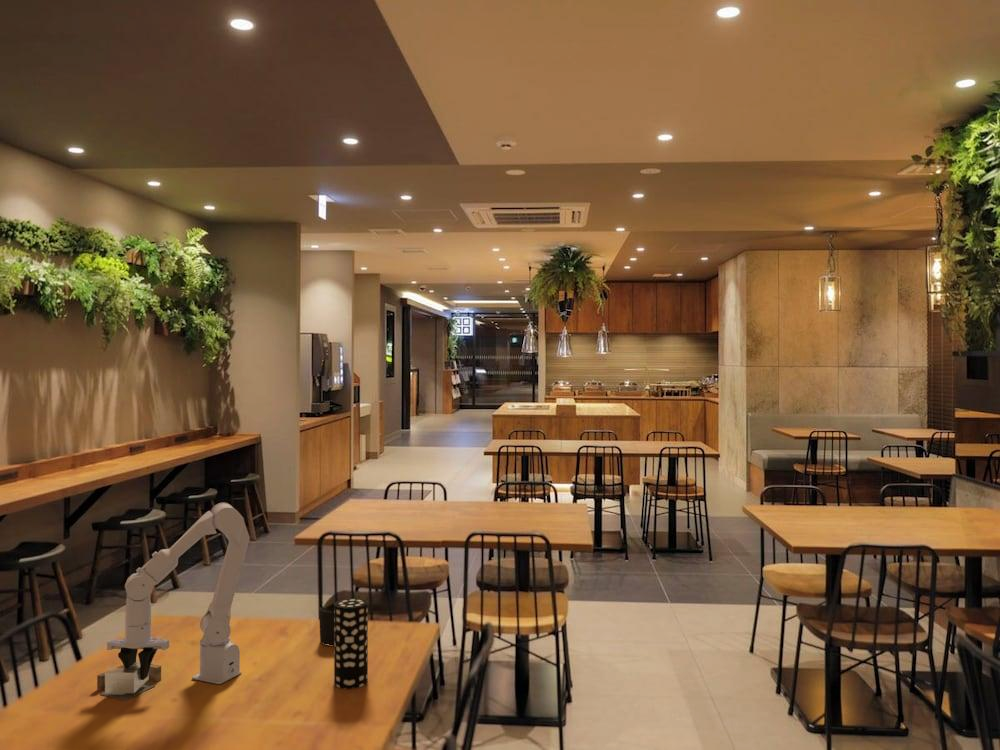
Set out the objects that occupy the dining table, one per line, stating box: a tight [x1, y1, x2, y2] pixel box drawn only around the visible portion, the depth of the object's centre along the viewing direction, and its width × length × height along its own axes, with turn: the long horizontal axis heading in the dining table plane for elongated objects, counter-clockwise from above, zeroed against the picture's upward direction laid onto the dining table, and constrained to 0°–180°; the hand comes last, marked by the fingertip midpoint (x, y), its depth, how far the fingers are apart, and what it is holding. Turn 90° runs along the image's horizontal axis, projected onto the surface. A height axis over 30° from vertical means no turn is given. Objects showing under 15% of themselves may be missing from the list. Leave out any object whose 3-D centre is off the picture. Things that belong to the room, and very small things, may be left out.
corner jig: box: [96, 663, 162, 691], centre depth 179 cm, size 10×10×4 cm
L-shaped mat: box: [99, 683, 156, 701], centre depth 176 cm, size 8×8×1 cm
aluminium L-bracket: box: [104, 659, 150, 693], centre depth 175 cm, size 7×7×5 cm
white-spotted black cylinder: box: [333, 597, 369, 690], centre depth 181 cm, size 8×8×20 cm
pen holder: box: [318, 602, 335, 645], centre depth 210 cm, size 9×9×10 cm
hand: (138, 678), depth 176 cm, fingers closed on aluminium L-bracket, 2 cm apart
